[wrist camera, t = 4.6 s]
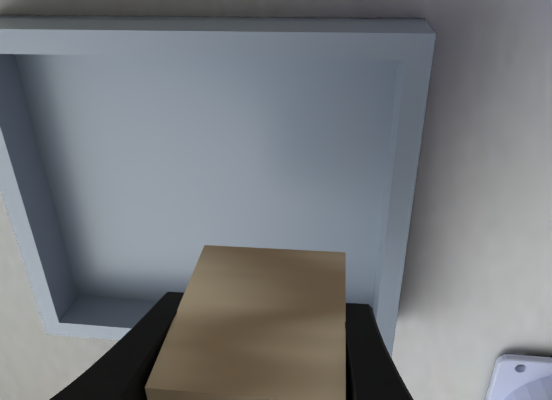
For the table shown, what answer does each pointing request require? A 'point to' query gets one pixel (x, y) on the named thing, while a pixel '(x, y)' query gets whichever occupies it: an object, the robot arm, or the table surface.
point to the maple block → (257, 328)
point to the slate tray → (206, 152)
